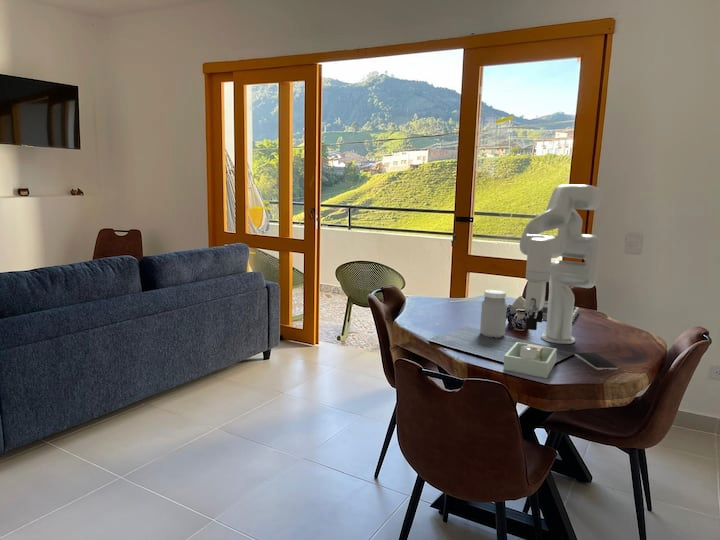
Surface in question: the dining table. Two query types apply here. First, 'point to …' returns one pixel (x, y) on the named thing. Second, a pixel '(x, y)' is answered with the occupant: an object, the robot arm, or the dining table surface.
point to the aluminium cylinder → (528, 352)
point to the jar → (493, 313)
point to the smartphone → (596, 361)
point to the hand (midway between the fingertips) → (534, 325)
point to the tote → (530, 361)
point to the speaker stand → (575, 312)
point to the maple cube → (538, 352)
